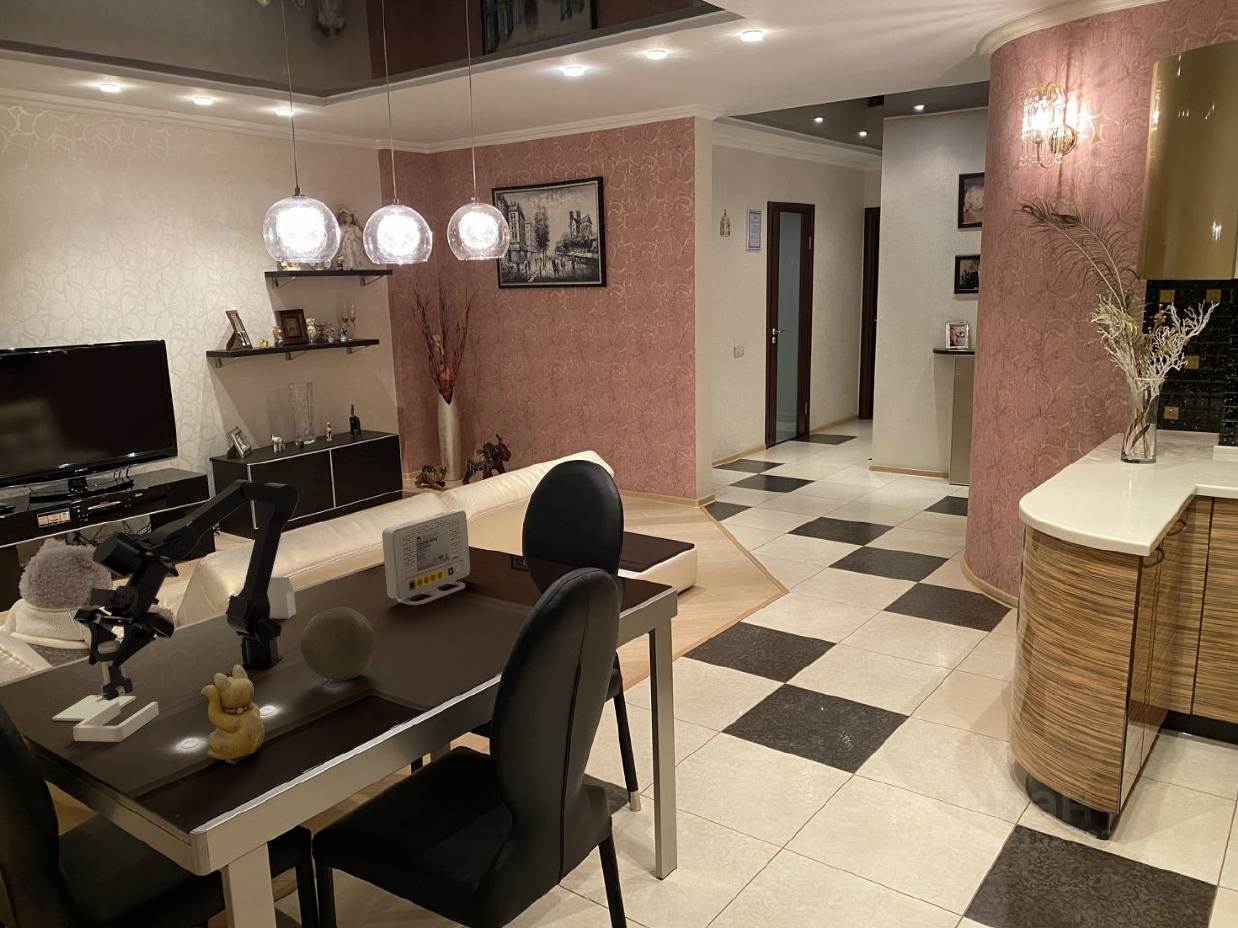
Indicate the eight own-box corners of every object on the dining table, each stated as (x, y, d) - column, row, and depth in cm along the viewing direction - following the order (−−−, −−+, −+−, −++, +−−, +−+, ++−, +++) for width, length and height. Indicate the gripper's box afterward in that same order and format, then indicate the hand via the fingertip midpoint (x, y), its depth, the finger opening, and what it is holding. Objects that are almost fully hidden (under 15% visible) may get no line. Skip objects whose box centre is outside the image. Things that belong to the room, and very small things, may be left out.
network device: (455, 578, 253) (450, 507, 250) (478, 582, 248) (473, 510, 245) (382, 604, 233) (375, 528, 230) (405, 610, 228) (398, 532, 225)
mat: (135, 698, 182) (135, 696, 181) (100, 721, 172) (100, 718, 172) (90, 697, 183) (89, 695, 183) (52, 720, 173) (52, 717, 173)
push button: (106, 706, 164) (98, 653, 162) (87, 702, 166) (78, 650, 165) (140, 691, 170) (132, 640, 168) (121, 687, 172) (112, 637, 170)
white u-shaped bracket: (159, 714, 174) (157, 701, 173) (120, 741, 163) (118, 728, 163) (115, 713, 175) (114, 700, 175) (74, 740, 164) (72, 727, 164)
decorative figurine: (240, 738, 162) (230, 658, 160) (280, 743, 160) (271, 661, 157) (201, 765, 153) (190, 680, 151) (243, 770, 151) (232, 684, 148)
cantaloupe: (320, 667, 193) (313, 599, 191) (387, 665, 193) (380, 597, 190) (295, 696, 179) (287, 622, 177) (366, 694, 179) (359, 620, 176)
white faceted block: (288, 618, 226) (284, 579, 224) (263, 618, 227) (258, 579, 225) (296, 613, 229) (292, 574, 228) (271, 613, 230) (266, 574, 229)
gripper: (74, 565, 171) (29, 643, 162) (153, 570, 165) (111, 651, 156) (115, 592, 179) (75, 668, 171) (192, 598, 173) (154, 676, 165)
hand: (102, 665), depth 166 cm, fingers closed on push button, 5 cm apart
